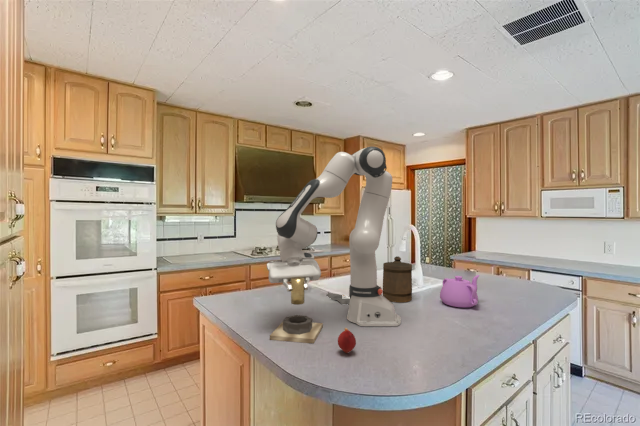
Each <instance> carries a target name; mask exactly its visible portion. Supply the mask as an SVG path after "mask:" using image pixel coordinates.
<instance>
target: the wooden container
mask: <svg viewBox="0 0 640 426" xmlns="http://www.w3.org/2000/svg"><path fill="white" fill-rule="evenodd" d="M393 259H394V260H393V261H387V262H383V265H382V267H383V269H382V291H383V292H382V296H384V297H385V298H386V299H387V300H389V301H390V302H391V303H410V302H411V301H412V299H413V277H412V276H413V273H412V270H413V264H411V263H409V262H402V261H401V260H402V258H401V257H400V256H394V258H393Z"/></svg>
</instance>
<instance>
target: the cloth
mask: <svg viewBox="0 0 640 426" xmlns="http://www.w3.org/2000/svg"><path fill="white" fill-rule="evenodd" d="M327 293H328V294H327ZM327 293H326V297H327V296H328V297H329V298H328V297H327V298H328V299H330V298H331V299H330V300H332V301H338V302H339V303H340V304H341V305H342V304H346V305H347V304H348V305H347V306H349V304H350V299H342V295H343V294H339V293H333V292H332V293H331V292H329V291H328V292H327Z"/></svg>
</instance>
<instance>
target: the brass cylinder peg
mask: <svg viewBox="0 0 640 426" xmlns="http://www.w3.org/2000/svg"><path fill="white" fill-rule="evenodd" d="M304 284H305V281H304V278H301V277H299V278H291V282H290V285H291V288H292V290H291V291H290V303H291V305H293V306H294V305H297V306H300V305H304V304H305V290H304Z"/></svg>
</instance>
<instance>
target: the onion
mask: <svg viewBox="0 0 640 426" xmlns="http://www.w3.org/2000/svg"><path fill="white" fill-rule="evenodd" d="M337 345H338V348H340V349H341V351H343V352H344V353H345V354H349V353H350V352H351V351H353V349H355V348H356V345H357V340H356V337H355V334H354V333H353V332H351V331H350V330H349V329H348V328H347V327H344V330H343V331H342V332H340V334H339V335H338V337H337Z"/></svg>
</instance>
